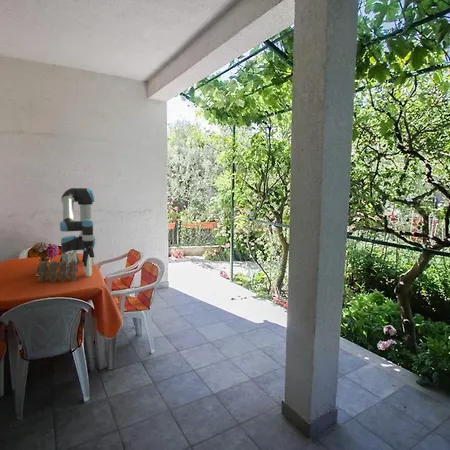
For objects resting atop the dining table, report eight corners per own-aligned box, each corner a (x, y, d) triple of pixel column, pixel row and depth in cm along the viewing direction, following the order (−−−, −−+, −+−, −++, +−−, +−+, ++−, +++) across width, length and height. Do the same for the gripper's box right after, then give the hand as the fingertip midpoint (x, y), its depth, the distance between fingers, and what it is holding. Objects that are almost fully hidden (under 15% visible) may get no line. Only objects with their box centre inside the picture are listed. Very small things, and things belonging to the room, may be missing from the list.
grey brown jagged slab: (59, 281, 219) (58, 263, 217) (63, 278, 226) (62, 260, 224) (62, 281, 219) (62, 263, 218) (66, 278, 226) (66, 260, 224)
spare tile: (85, 276, 232) (85, 259, 231) (88, 273, 239) (88, 257, 238) (89, 276, 233) (88, 259, 231) (92, 273, 239) (91, 257, 238)
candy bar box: (72, 270, 247) (71, 250, 245) (77, 271, 246) (77, 250, 244) (62, 274, 236) (61, 253, 234) (68, 274, 235) (67, 253, 233)
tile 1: (39, 281, 217) (38, 263, 216) (44, 278, 224) (43, 261, 223) (43, 281, 218) (42, 263, 216) (47, 278, 225) (46, 261, 223)
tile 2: (49, 281, 218) (48, 263, 217) (53, 278, 225) (53, 261, 223) (53, 281, 218) (52, 263, 217) (57, 278, 225) (56, 260, 224)
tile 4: (69, 281, 220) (68, 263, 218) (72, 278, 226) (72, 260, 225) (72, 281, 220) (71, 263, 218) (76, 278, 227) (75, 260, 225)
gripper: (88, 237, 245) (88, 264, 247) (76, 243, 220) (77, 272, 222) (98, 237, 245) (98, 264, 248) (87, 243, 221) (88, 272, 223)
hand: (88, 268), depth 235 cm, fingers open, 13 cm apart
